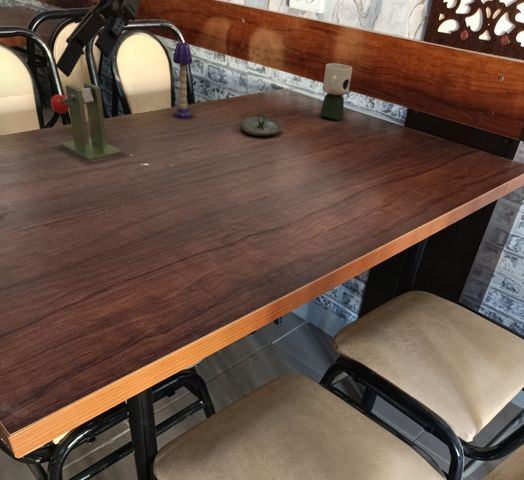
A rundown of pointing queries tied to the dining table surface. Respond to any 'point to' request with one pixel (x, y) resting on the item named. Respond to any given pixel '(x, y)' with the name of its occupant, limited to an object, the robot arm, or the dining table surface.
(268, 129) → the lid
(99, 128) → the stand
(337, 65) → the character mug
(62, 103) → the lever
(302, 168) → the dining table surface
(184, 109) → the toy lamp
